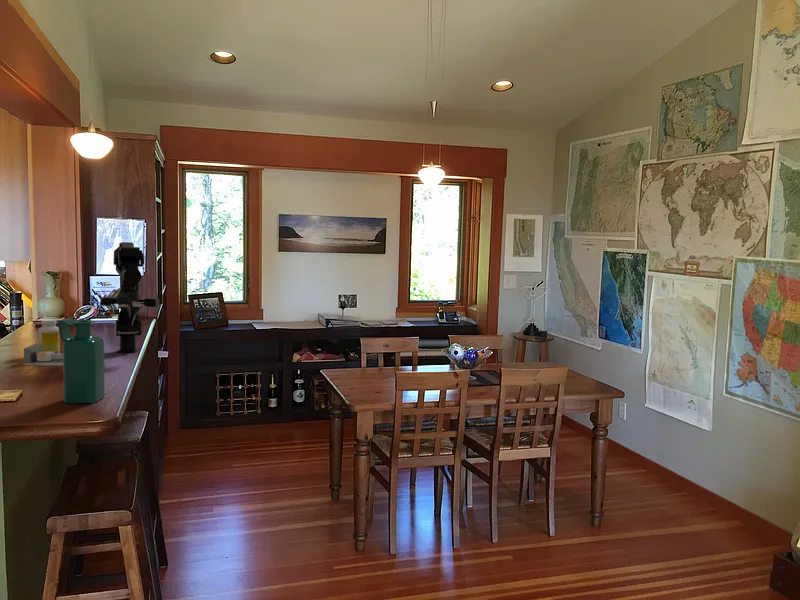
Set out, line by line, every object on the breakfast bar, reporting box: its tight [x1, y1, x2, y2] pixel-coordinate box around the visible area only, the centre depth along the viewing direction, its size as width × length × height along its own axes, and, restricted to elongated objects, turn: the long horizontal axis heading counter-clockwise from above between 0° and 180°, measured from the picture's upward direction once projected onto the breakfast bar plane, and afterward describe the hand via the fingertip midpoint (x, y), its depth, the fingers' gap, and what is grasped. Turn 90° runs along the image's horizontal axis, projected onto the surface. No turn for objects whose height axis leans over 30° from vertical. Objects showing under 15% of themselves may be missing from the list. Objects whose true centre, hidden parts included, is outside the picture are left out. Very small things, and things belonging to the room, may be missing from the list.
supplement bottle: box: [38, 319, 61, 353], centre depth 223 cm, size 7×7×13 cm
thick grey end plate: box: [37, 351, 63, 361], centre depth 212 cm, size 8×13×3 cm, turn 98°
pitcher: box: [57, 317, 106, 404], centre depth 168 cm, size 10×8×22 cm
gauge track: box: [22, 343, 63, 367], centre depth 212 cm, size 10×14×6 cm
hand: (130, 325), depth 222 cm, fingers closed
